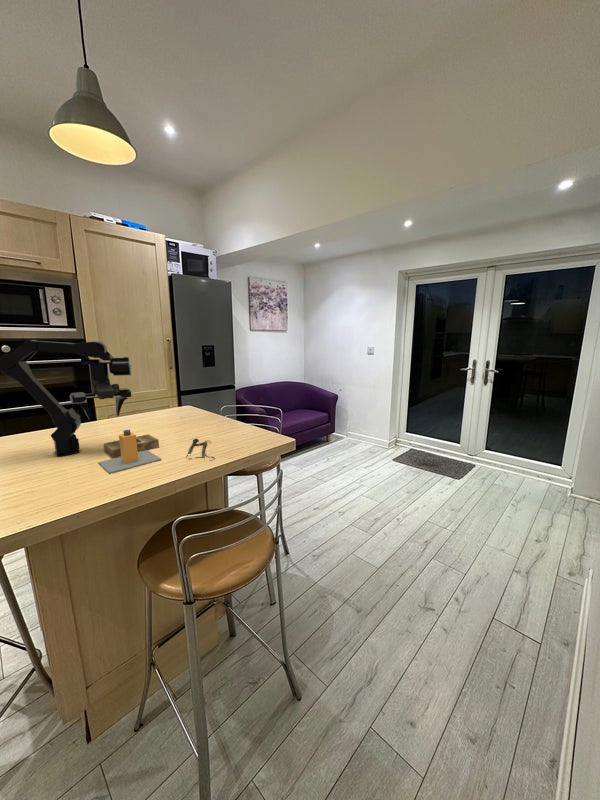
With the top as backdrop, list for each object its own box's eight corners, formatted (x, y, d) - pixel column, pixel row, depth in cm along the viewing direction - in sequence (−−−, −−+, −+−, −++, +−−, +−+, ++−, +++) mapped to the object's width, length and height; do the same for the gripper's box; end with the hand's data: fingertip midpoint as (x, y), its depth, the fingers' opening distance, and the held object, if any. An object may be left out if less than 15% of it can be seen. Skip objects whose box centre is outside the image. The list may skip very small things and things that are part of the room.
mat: (109, 474, 99) (109, 472, 99) (98, 463, 107) (98, 462, 107) (161, 460, 110) (161, 458, 110) (147, 451, 118) (147, 450, 118)
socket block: (113, 458, 112) (112, 449, 111) (104, 451, 119) (103, 442, 118) (159, 447, 123) (158, 438, 123) (148, 441, 130) (148, 433, 130)
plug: (125, 463, 106) (122, 433, 104) (121, 460, 109) (118, 430, 107) (138, 460, 109) (135, 430, 107) (134, 457, 111) (131, 428, 109)
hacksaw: (193, 441, 131) (193, 437, 131) (219, 440, 133) (219, 436, 133) (182, 464, 108) (182, 459, 108) (214, 461, 110) (214, 457, 109)
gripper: (73, 380, 105) (78, 426, 108) (134, 376, 118) (137, 417, 121) (67, 377, 113) (72, 420, 116) (125, 373, 126) (128, 412, 129)
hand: (104, 417), depth 120 cm, fingers open, 9 cm apart
